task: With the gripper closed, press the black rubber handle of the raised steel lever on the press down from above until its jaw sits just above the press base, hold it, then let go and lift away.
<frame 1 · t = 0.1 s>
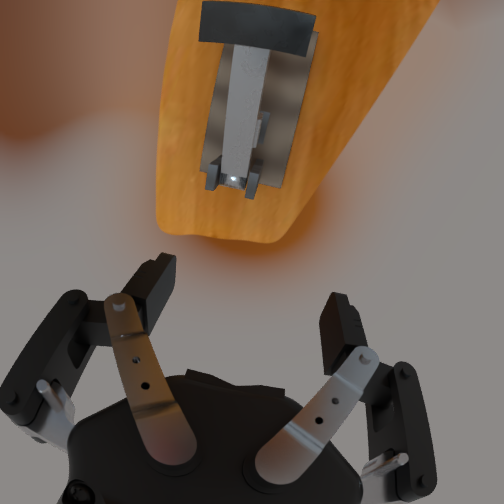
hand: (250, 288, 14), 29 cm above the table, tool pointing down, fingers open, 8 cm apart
lever: (245, 103, 24), point 12 cm above the table, hinge at 25.0°
press base: (258, 98, 34), on the table
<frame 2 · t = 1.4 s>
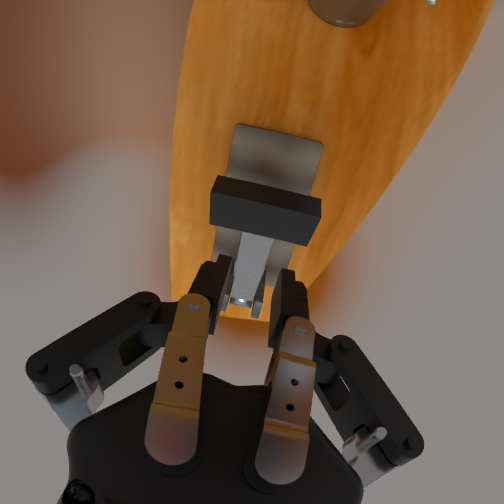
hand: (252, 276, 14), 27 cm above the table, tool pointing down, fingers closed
lever: (251, 257, 31), point 12 cm above the table, hinge at 25.0°
press base: (261, 209, 41), on the table
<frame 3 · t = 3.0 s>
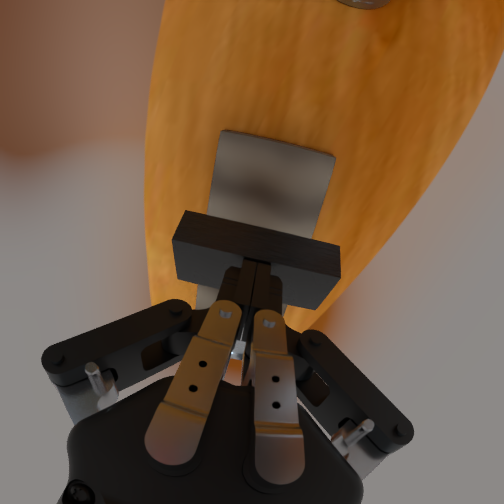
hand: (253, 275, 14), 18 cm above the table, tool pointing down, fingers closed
lever: (241, 311, 23), point 12 cm above the table, hinge at 22.8°, touching gripper
press base: (256, 238, 33), on the table
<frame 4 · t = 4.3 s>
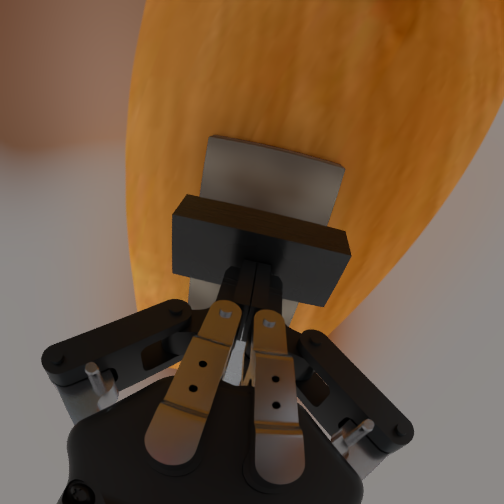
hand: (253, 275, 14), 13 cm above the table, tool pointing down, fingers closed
lever: (237, 328, 21), point 10 cm above the table, hinge at 9.5°, touching gripper
press base: (251, 258, 29), on the table
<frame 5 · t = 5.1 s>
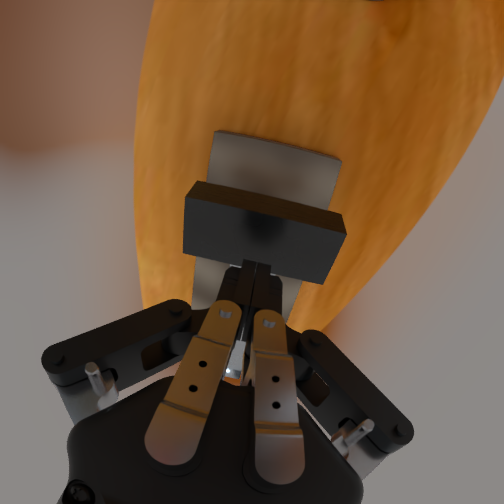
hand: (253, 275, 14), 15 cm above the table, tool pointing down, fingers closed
lever: (241, 310, 22), point 10 cm above the table, hinge at 9.4°
press base: (254, 248, 31), on the table
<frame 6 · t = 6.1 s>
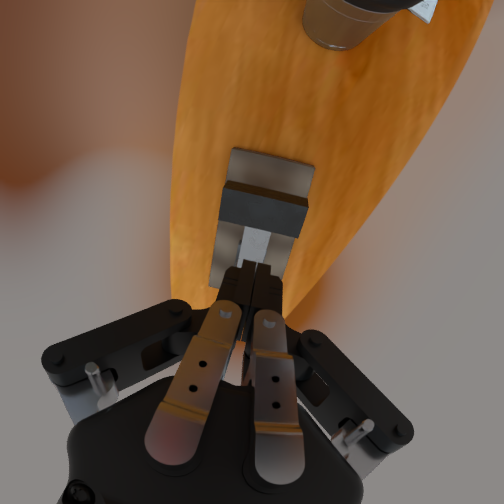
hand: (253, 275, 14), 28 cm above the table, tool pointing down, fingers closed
lever: (249, 262, 36), point 10 cm above the table, hinge at 9.4°
press base: (256, 228, 44), on the table
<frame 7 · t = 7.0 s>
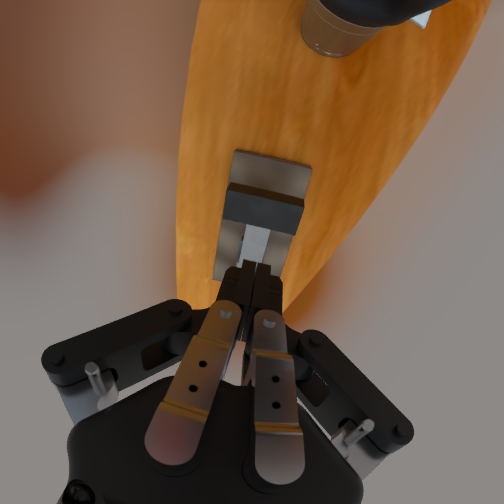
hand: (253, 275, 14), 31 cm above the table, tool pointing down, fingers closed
lever: (251, 257, 39), point 10 cm above the table, hinge at 9.4°
press base: (257, 225, 47), on the table
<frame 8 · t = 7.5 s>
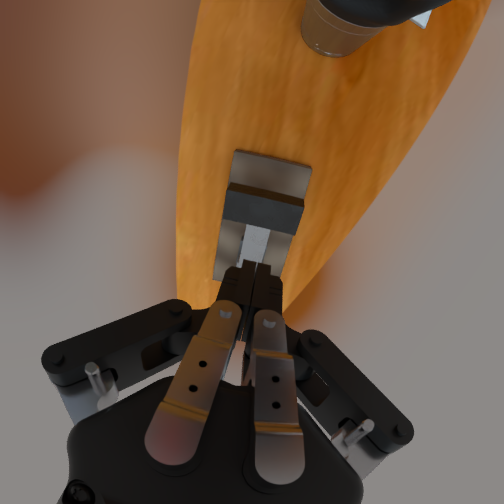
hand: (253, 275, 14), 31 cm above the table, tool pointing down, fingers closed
lever: (251, 257, 39), point 10 cm above the table, hinge at 9.4°
press base: (257, 225, 47), on the table
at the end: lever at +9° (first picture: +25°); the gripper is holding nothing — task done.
